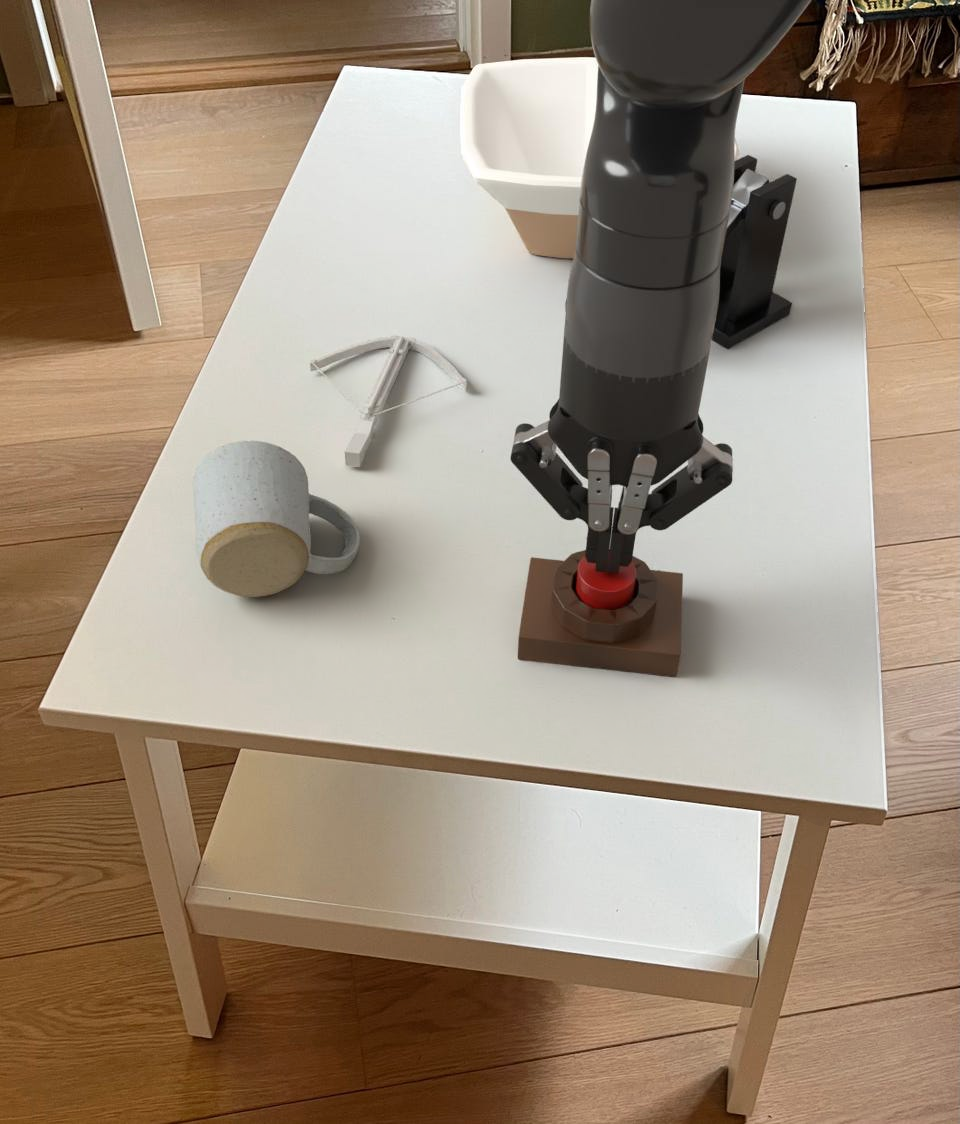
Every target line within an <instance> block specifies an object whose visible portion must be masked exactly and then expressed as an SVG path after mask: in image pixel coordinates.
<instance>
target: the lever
mask: <svg viewBox="0 0 960 1124" xmlns="http://www.w3.org/2000/svg"><path fill="white" fill-rule="evenodd" d="M769 182H770V179H769V178H768V177H766V176H763V175H762V174H760V173H758V172H756V171H755V172H754V171H752V170H750V169H746V171H745V172H744V173H743V174H742V176H741V177H740V178H739V179H738V181H737V182H736V183H735V184H734V185H733V194H732V201H731V209H730V213H729V219H728V224H727V230H726V235H725V240H726V239H727V238H728V237H729V235H730V234H731V233H732V232H733V231H734V229H735V228H736V227H737V226H738V224H739V223H740V222H741V221H742V219H743V218H744V219H745V218H746V213H747V208H748V202H749V197H750V192H751V191H753V190H755V189H757V188H759V187H761V186H763V185H765V184H767V183H769ZM724 242H725V241H724Z"/></svg>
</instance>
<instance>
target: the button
mask: <svg viewBox="0 0 960 1124" xmlns="http://www.w3.org/2000/svg"><path fill="white" fill-rule="evenodd" d="M608 559H609V555H608ZM595 567H596V563H588V562H587V560H586V557H583V559H582V560H581V561H580V563H579V565H578V572H577V583H576V590H577V594H578V595H579V597H580V599H581V600H582V601H583V602H584V603H586V604H587V605H589V606H591V607H593V608H596V609H603V610H614V609H618V608H621V607H623V606H624V605H626V604H627V603H628V602H629V601H630V600H631V598H632V596H633V593H634V586H635V579H636V568H635V566H634V564H633V562H631V563H630V564H629V566H628V567H625V566H620V567H619V574H614V573H607V571H606V573H604V572H595ZM607 569H608V563H607Z"/></svg>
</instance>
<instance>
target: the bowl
mask: <svg viewBox="0 0 960 1124" xmlns="http://www.w3.org/2000/svg"><path fill="white" fill-rule="evenodd" d="M597 77H598V63H597V61H596V58H595V57H591V56H590V57H589V56H584V57H583V56H581V57H579V56H578V57H553V58H552V57H551V58H550V57H549V58H548V57H547V58H525V59H524V58H523V59H513V60H504V61H495V62H486V63H478V64H476V65H475V66H474V67H473V68H472V70H471V71H470V73H469V74H468V77H466V80H465V81H464V83H463V85H462V86H461V89H460V90H461V94H460V117H459V119H460V120H459V121H460V123H459V125H460V152H461V158H462V159H463V161H464V163H465V165H466V167H467V169H468V171H469V173H470V175H471V176H472V178H473V180H474V182H475V183H476V184H477V185H478V186H479V187H481V188H482V189H483V190H484V191H485V192H486V193H487V194H488V195H489V196H491V197H492V198H493V199H494V200H495V201H496V202H498V204H500V205H501V206H502V207H503V208H504V210H505V212H506V213H507V215H508V217H509V219H510V221H511V223H512V224H513V226H514V227H515V229H516V231H517V234H518V235H519V237H520V239H521V241H522V243H523V244H524V246H525V248H526V250H527V252H528V253H529V254H530V255H534V256H543V257H548V258H549V257H550V258H556V259H572V260H573V259H574V255H575V248H576V238H577V225H578V212H579V200H580V189H581V181H582V173H583V168H584V163H585V158H586V153H587V149H588V145H589V141H590V137H591V133H592V129H593V124H594V119H595V111H596V97H597ZM734 149H735V161H736V160H738V159H739V155H740V148H739V144H738V143H737V139H736V138H735V145H734Z"/></svg>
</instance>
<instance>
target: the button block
mask: <svg viewBox="0 0 960 1124" xmlns="http://www.w3.org/2000/svg"><path fill="white" fill-rule="evenodd" d="M585 552H586V549H583V550H580V551H577V552H574V553H571V554H570V555H568V557H567V558H566V559H565V560H560V559H553V558H551V559H550V558H542V557H533V556H532V557H530V559H529V564H528V565H529V566H528V571H527V577H526V580H527V581H526V585H525V593H524V598H523V604H522V610H521V611H522V612H521V619H520V626H519V631H518V638H517V660H523V661H529V662H530V661H532V662H540V663H548V664H558V665H565V666H566V665H567V666H574V667H576V666H577V667H584V668H592V669H602V670H611V671H612V670H613V671H620V672H628V673H629V672H630V673H639V674H646V675H656V676H663V677H665V676H666V677H673V678H676V677H677V675H678V670H679V667H680V666H679V665H680V661H681V656H682V626H683V624H682V623H683V588H684V573H683V572H674V571H673V572H672V571H667V570H666V571H665V570H656V569H650V567H649V566H648V564H647V563H646V562H645V561H644V560H642V559H640V558H638V557H636V556H634V555H633V556H632V562H633V564H634V566H635V568H636V579H635V586H634V593H633V596H632V598H631V600H630V601H629V602H628V603H627V604H626V605H624V606H623V607H621V608H618V609H614V610H603V609H596V608H593V607H591V606H589V605H587V604H586V603H584V602H583V601H582V600H581V599H580V597H579V595H578V594H577V590H576V583H577V572H578V565H579V563H580V561H581V560H582V559H583V557H585Z"/></svg>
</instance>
